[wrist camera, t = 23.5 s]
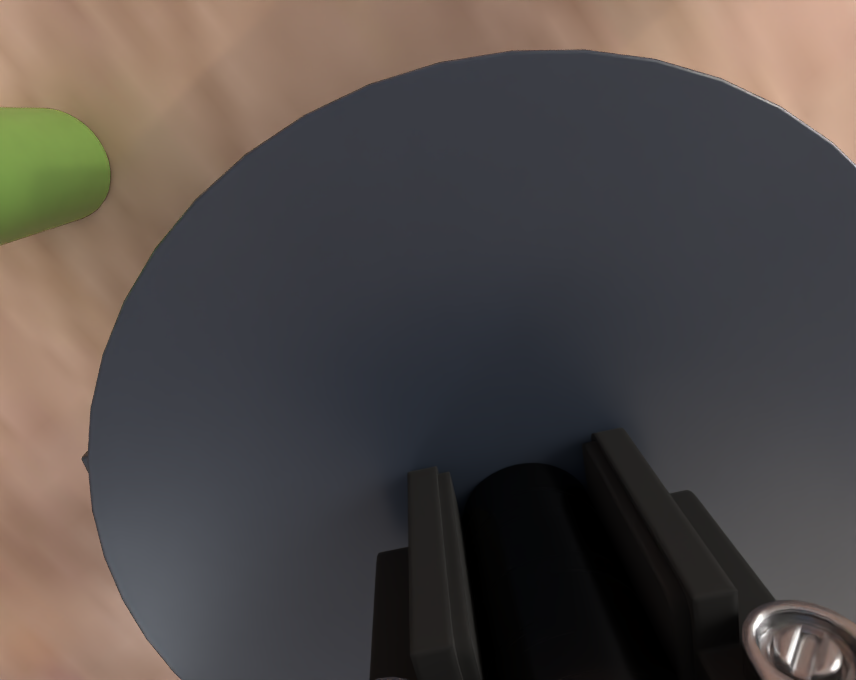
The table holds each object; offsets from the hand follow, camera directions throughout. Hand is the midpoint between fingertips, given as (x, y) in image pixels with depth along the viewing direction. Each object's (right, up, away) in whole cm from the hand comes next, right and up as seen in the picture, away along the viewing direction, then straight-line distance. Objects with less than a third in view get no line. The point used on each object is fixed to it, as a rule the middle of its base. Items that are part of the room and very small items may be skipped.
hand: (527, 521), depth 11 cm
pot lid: (0, 0, +1) cm, 1 cm away
